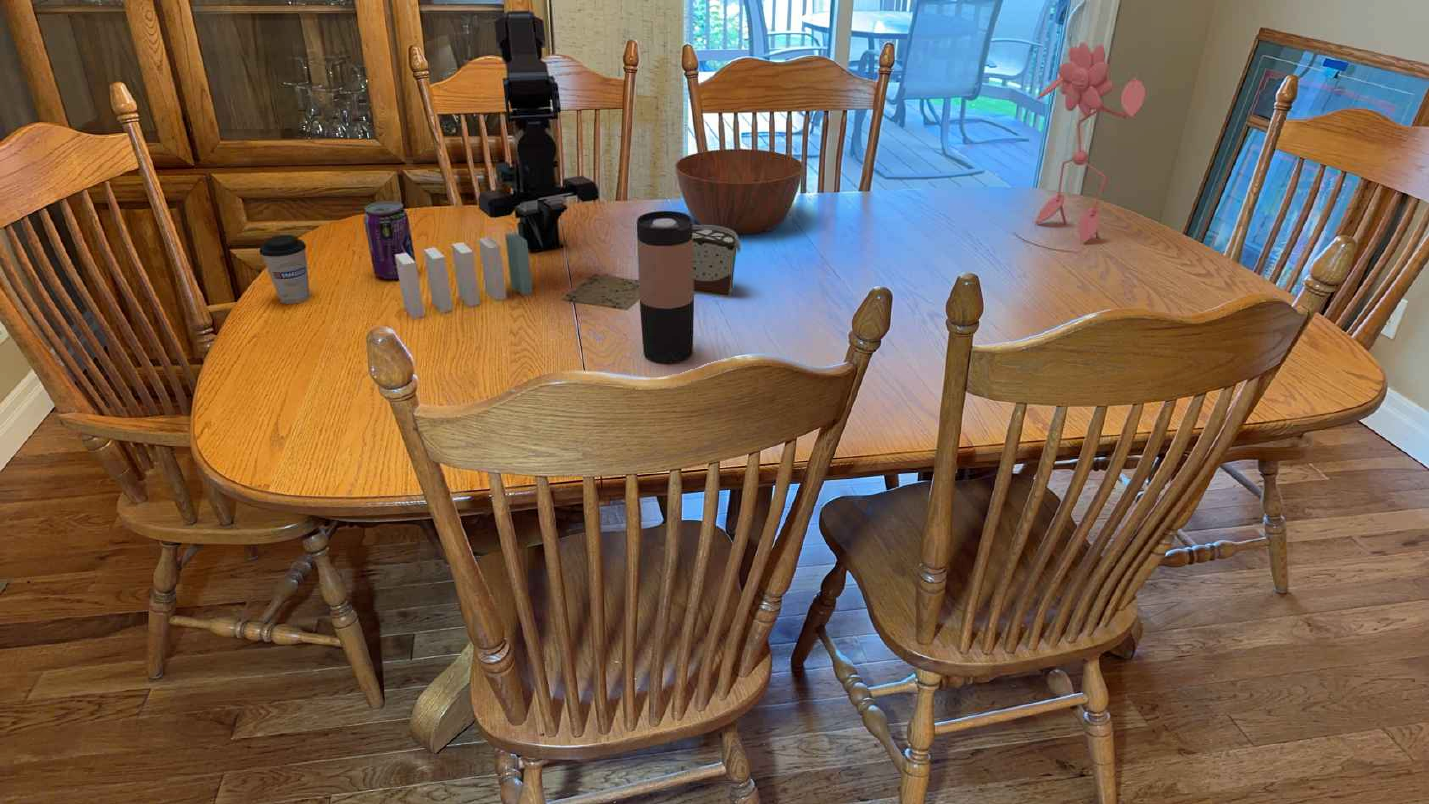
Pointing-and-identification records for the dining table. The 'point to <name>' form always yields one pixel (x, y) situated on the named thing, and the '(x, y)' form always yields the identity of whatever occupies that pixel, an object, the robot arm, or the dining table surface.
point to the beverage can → (387, 236)
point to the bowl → (739, 187)
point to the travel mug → (666, 285)
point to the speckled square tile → (606, 292)
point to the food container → (714, 259)
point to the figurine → (1085, 88)
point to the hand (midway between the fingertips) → (544, 246)
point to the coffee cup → (287, 267)
